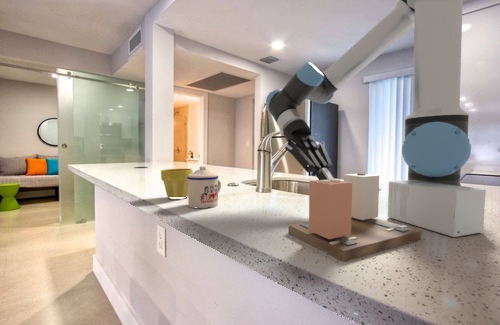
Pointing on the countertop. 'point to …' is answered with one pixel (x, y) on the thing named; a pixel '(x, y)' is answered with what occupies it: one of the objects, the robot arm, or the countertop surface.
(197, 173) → the teacup with lid
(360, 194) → the tall white pillar
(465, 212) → the supplement box
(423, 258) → the countertop surface
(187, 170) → the plant pot
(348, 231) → the tall salmon pillar
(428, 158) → the robot arm
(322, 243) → the walnut track board
